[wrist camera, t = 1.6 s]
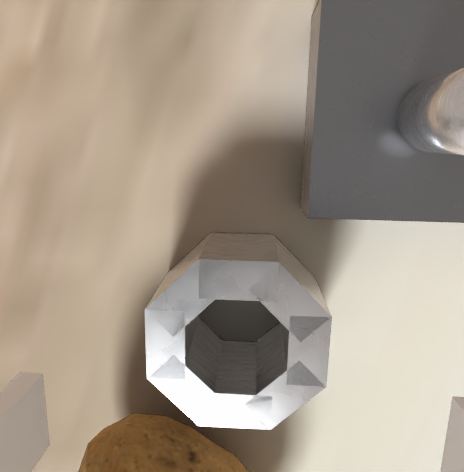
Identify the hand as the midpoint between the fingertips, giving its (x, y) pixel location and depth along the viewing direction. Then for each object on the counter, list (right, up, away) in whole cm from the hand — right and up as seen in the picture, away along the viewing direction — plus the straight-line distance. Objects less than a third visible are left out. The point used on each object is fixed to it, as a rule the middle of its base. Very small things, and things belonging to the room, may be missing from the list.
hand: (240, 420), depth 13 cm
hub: (0, +2, +10) cm, 10 cm away
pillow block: (+8, +12, +7) cm, 16 cm away
